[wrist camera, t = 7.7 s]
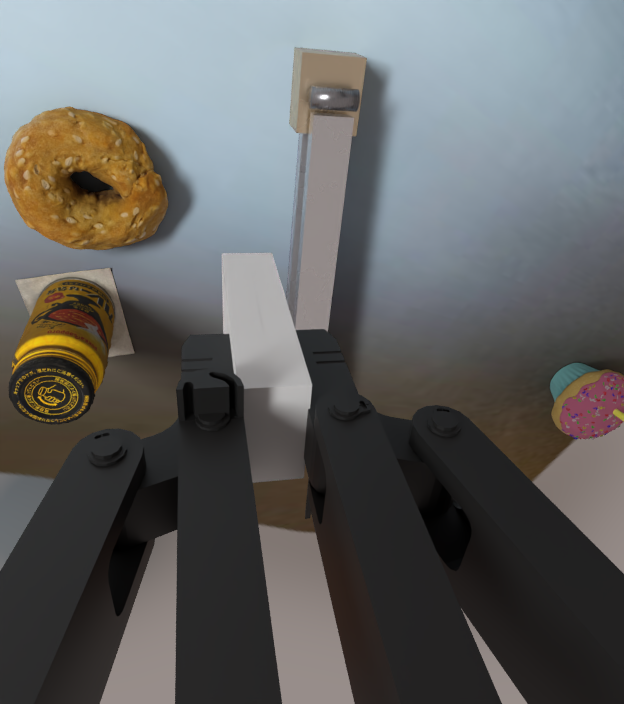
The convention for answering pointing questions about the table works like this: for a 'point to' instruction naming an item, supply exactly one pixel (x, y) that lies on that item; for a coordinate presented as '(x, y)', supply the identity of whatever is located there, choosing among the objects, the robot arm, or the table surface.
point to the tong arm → (323, 203)
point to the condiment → (66, 344)
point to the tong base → (309, 72)
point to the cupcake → (587, 400)
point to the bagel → (67, 197)
